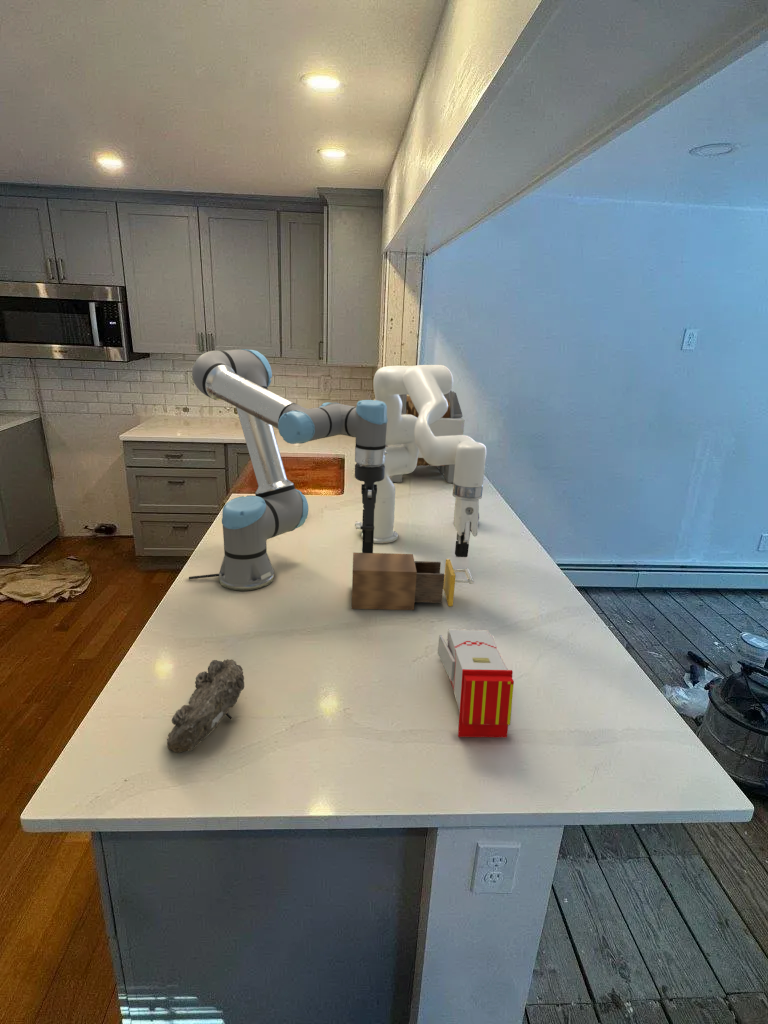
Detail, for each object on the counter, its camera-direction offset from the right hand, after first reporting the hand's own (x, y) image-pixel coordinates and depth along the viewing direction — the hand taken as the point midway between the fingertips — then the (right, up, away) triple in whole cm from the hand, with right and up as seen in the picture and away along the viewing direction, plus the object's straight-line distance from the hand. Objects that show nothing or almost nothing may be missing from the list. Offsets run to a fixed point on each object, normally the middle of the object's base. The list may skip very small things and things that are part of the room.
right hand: (461, 555), depth 151 cm
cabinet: (-21, -12, +4) cm, 25 cm away
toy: (-3, -26, -32) cm, 42 cm away
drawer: (-7, -12, +4) cm, 14 cm away
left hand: (-25, +4, -2) cm, 25 cm away
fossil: (-53, -27, -43) cm, 74 cm away
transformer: (-3, +30, +124) cm, 128 cm away
